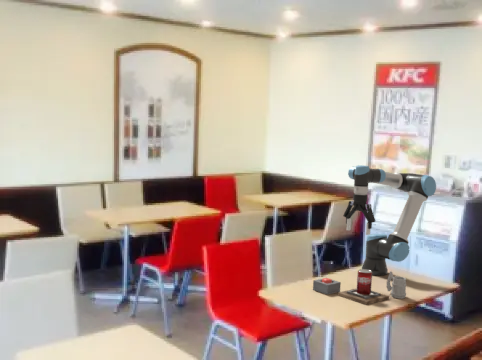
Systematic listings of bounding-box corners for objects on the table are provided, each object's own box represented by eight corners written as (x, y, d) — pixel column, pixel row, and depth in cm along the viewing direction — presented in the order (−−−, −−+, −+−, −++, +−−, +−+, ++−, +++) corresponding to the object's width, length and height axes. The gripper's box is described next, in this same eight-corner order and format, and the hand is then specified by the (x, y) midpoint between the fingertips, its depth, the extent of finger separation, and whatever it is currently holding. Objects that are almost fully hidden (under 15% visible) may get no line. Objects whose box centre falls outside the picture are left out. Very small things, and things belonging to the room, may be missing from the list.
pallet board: (360, 290, 312) (361, 285, 312) (388, 298, 298) (389, 294, 298) (338, 295, 300) (338, 290, 300) (366, 304, 287) (366, 299, 286)
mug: (399, 299, 298) (400, 276, 296) (381, 293, 307) (382, 271, 306) (409, 297, 302) (410, 274, 301) (391, 291, 312) (392, 269, 310)
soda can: (371, 296, 295) (372, 273, 294) (356, 295, 296) (357, 272, 295) (370, 292, 302) (372, 269, 301) (356, 291, 303) (357, 268, 302)
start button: (326, 286, 311) (326, 277, 311) (333, 289, 308) (333, 279, 307) (319, 288, 308) (320, 279, 308) (326, 290, 304) (327, 281, 304)
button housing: (325, 286, 315) (326, 277, 315) (340, 291, 307) (340, 282, 307) (312, 289, 309) (313, 280, 308) (327, 294, 301) (327, 285, 301)
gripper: (338, 191, 326) (336, 229, 328) (374, 197, 307) (372, 237, 309) (347, 190, 331) (345, 227, 333) (383, 196, 312) (380, 235, 314)
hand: (358, 232), depth 321 cm, fingers open, 13 cm apart
